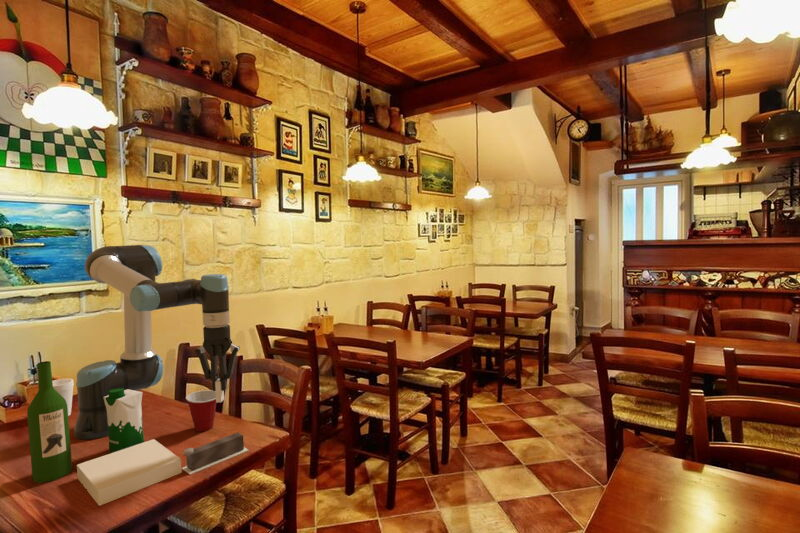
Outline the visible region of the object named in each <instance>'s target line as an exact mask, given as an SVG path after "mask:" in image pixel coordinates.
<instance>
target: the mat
mask: <svg viewBox="0 0 800 533" xmlns="http://www.w3.org/2000/svg"><path fill="white" fill-rule="evenodd" d="M249 450H250V449H248V448H247V447H245V446H244V449H243V450H241V451H238V452H236V453H233V454H231V455H228V456H226V457H224V458H221V459H219V460H216V461H214V462H211V463H209V464H207V465H204V466H202V467H199V468H197V469H194V470H191V469H189V468H188V467H187V465H185V466H183V467H181V470H183V471H184V472H186V473H187V474H188V475H189V476H190V475H193V474H195V473H198V472H200V471H203V470H205V469H208V468H209V467H212V466H215V465H217V464H220V463H222V462H225V461H226V460H229V459H232V458H235V457H236V456H239V455H241V454H243V453H244V454H245V453H246V452H249Z"/></svg>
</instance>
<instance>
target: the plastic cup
mask: <svg viewBox="0 0 800 533" xmlns="http://www.w3.org/2000/svg"><path fill="white" fill-rule="evenodd" d="M185 400H186V401H187V404H188V407H189V411H190V415H191V419H192V422H193V426H194V427H193V428H194V430H195V431H196V432H206V430H207V431H210V430H211V429H213V428H214V424H215V416H216V408H217V403H216V391H213V390H210V389H209V390H208V389H206V390H198V391H197V390H196V391H193V392H190V393H189V394H187V395H186V396H185Z"/></svg>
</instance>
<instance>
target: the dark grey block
mask: <svg viewBox="0 0 800 533" xmlns="http://www.w3.org/2000/svg"><path fill="white" fill-rule="evenodd" d="M244 447H245V444H244V435H243V434H242V433H240V432H239V431H238V432H236V433H232V434H230V435H226V436H224V437H222V438H218V439H216V440H214V441H211V442H209V443H206V444H204V445H200V446H197V447H195V448H193V447H187V448H185V449H184V450H183V451H182V452H183V456H185V457H186V466H187V467H188V468H189V469H191V470H194V469H197V468H199V467H202V466H204V465H207V464H209V463H211V462H214V461H216V460H219V459H221V458H224V457H226V456H228V455H231V454H233V453H236V452H238V451H241V450H243V449H244Z"/></svg>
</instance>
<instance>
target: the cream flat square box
mask: <svg viewBox="0 0 800 533" xmlns="http://www.w3.org/2000/svg"><path fill="white" fill-rule="evenodd" d="M76 470H77V471H76V472H77V473H76V474H77V479H78V481H79V482H80V484H81V485H82V484H83V485H82V486H83V487H84V489H85V490H86V489H87V490H86V491H87V492H88V494H89V495H90V496H91V497H92V499H93V501H95V503H96V504H97V505H98V506H99V507H100V506H102V505H105V504H108V503H110V502H113V501H114V500H118V499H119V498H122V497H125V496H128V495H130V494H133V493H135V492H139V491H140V490H143V489H145V488H148V487H150V486H152V485H155V484H157V483H159V482H162V481H165V480H166V479H169V478H172V477H174V476H177V475H180V474H182V473H183V472H182V470H183V469H182V460H181V458H180V457H179V456H178V455H176V454H175V453H173V452H172V451H171V450H170V449H168V448H167V447H165V446H164V445H163V444H161V443H160V442H159V441H157V440H156V439H154V438H152V439H150V440H148V441H147V440H146V441H144V443H141V444H138V445H135V446H132V447H129V448H126V449H123V450H120V451H117V452H114V453H109V454H105V455H102V456H99V457H96V458H93V459H89V460H87V461H84V462H80V463H78V464H76Z"/></svg>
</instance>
